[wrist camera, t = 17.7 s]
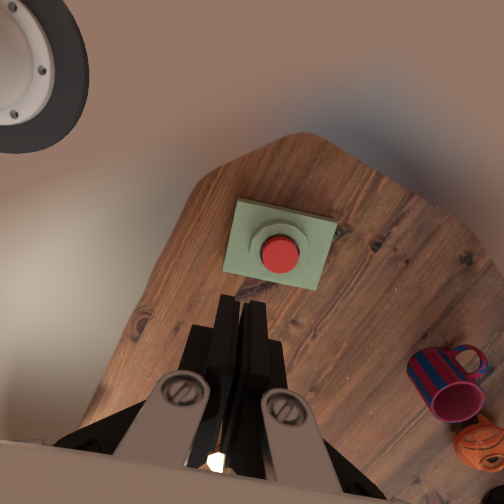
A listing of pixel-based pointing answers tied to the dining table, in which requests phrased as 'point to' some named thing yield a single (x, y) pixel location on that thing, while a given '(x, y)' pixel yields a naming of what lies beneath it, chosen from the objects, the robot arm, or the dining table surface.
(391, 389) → the dining table surface
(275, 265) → the button
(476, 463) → the pot
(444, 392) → the cup
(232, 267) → the switch box
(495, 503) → the portable speaker
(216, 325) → the robot arm
